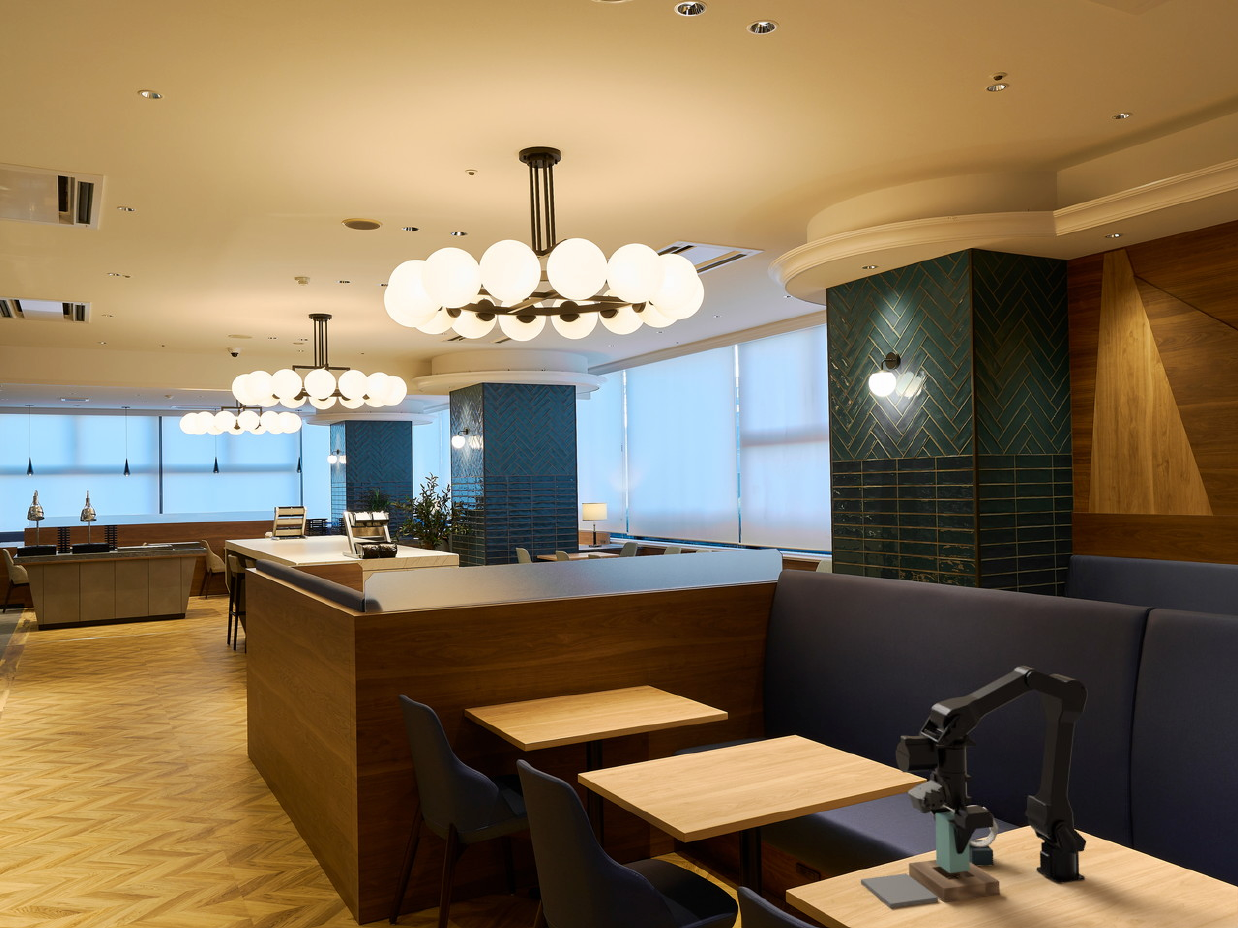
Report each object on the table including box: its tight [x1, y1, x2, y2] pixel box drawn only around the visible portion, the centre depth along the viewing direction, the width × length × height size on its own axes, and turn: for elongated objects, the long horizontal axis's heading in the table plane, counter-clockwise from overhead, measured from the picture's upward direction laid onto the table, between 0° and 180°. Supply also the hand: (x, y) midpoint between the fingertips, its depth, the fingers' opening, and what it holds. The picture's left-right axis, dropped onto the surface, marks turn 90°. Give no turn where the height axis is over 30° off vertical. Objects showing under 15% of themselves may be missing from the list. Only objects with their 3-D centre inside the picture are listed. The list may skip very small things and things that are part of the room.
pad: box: [860, 873, 939, 909], centre depth 177 cm, size 10×11×1 cm
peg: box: [935, 811, 970, 873], centre depth 180 cm, size 4×4×10 cm
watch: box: [966, 804, 1000, 866], centre depth 192 cm, size 6×8×11 cm
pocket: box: [908, 859, 1001, 903], centre depth 180 cm, size 12×12×2 cm
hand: (952, 848), depth 180 cm, fingers closed on peg, 4 cm apart
